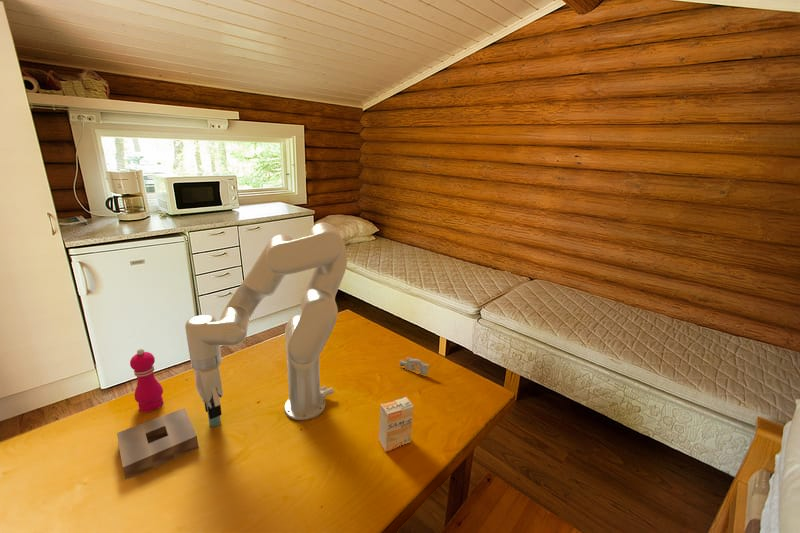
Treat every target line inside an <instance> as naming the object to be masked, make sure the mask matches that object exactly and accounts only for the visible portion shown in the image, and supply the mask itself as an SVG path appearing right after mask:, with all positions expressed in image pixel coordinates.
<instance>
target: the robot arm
mask: <svg viewBox="0 0 800 533" xmlns="http://www.w3.org/2000/svg"><path fill="white" fill-rule="evenodd" d="M347 264H348V253H347V247H346V244H345V240H344V238H343V236H342V235H341V233H340V232H339V231H338V229H337V228H336V227H335V226H334V225H332V224H330V223H328V222H321V221H320V222H317V223H316V224H314V225H313V226H312V227H311V229H310V231H309V233H308V236H304V237H301V238H298V239H294V238H293V237H291V236H290V235H287V234H276V235H275V236H273V237H272V238H271V239H270V240H269V241H267V244H266V245H265V247H264V248H263V250H262V252H261V253H260V255H259V256H258V258H257V259H256V261H255V262H254V264H253V266H252V267H251V269H250V270H249V272H248V274H246V277H245V278H244V279H242V280H243V281H242V282H241V284H240V285H239V287H238V288H237V289H236V290H235V292H234V294H233V295H232V297H231V298H230V299H229V301H228V303H227V305H226V306H225V308H224V309H223V311H222V313H221V316H220V318H219V320H217V319H216V317H215V316H214V315H211V314H210V315H209V314H201V315H195V316H192V317H191V318H189V319H188V320H187V321H186V323H185V328H184V329H185V334H186V340H187V347H188V355H189V360H190V369H191V370H194V378H195V387H196V390H197V393H198V395H199V397H200V399H201V400H202V402H203V403H204V408H205V409H204V410H205V412H206V413H207V414H208V413H209V418H210V419H213V418H215V417H218V416H220V417H221V416H222V414H223V413H222V407H221V401H220V399H222V398H223V395H224V392H223V384H222V376H221V370H220V367H219V366H220V365H221V363H222V352H221V351H222V350H221V346H224V347H225V346H226V347H227V346H228V347H232V346H233V347H234V346H237V345H238V346H239V345H240V344H242V343H243V342H244V341H245V340H246V338H247V336H248V335H247V334H248V329H249V328H248V327H249V321H250V320H251V319H250V318H251V316H252V315H253V313H255V310H256V309H257V308H258V306H259V304H260V303H261V302H263V300H264V299H265V298H266V297H270V296H272V295H274V293H276V291H277V290H278V288H279V286H280V285H281V283H282V281H283V280H284V279H285V277H286V276H287V275H293V274H298V273H302V272H305V271H309V270H311V269H313V271H312V274H311V276H310V279H309V281H308V283H307V285H306V287H305V288H304V291H303V293H302V295H301V298H300V309H301V313H298V314H295V315H293V316H292V317H291V318H290V319H289V320H288V321H287V323H286V325H285V327H284V328H285V329H284V337H285V338H284V339H285V347H286V348H285V350H286V364H287V368H286V369H287V382H288V387H287V388H288V399H287V400H286V401H285V403H284V413H285V415H286V416H287V417H288V418H290V419H291V420H294V421H308V420H312V419H314V418H317V417H318V416H319V415H321V414H322V413H323V412H324V410H325V408H326V400H325V398H327V396H329V395H332V394H334V392H335V390H334V388H333V387H330V388H329V387H328V388H327V386H326V385H324V386H321V374H320V373H321V372H320V364H321V363H320V355H321V353H322V352H323V350H324V348H325V346H326V344H327V342H328V340H329V339H330V336H331V334H332V331H333V330H334V327H335V325H336V323H337V318H338V315H339V311H338V310H339V309H338V305H337V302H336V295H337V293H338V290H339V288H340V286H341V283H342V280H343V278H344V276H345V273H346V270H347ZM211 400H213V402H212V403H211ZM206 403H208V405H209V407H208V412H207V405H206Z"/></svg>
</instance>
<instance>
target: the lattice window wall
mask: <svg viewBox="0 0 800 533" xmlns="http://www.w3.org/2000/svg"><path fill="white" fill-rule="evenodd" d="M405 359H406V360H404V359H400V360H399V361H398V362H399V368H400V367H401V366H405V368H406V369H409V370H412V371H414V370H415V371H417V372H420V373H419V374H423V375H427V374H428V375H429V367H430V364H427V363H425V362H423V360H422V359H421V360H420V359H419V358H411V357H409V356H407V357H406V358H405ZM406 369H405V370H406Z"/></svg>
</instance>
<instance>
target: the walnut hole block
mask: <svg viewBox="0 0 800 533" xmlns="http://www.w3.org/2000/svg"><path fill="white" fill-rule="evenodd" d="M116 436H117V442H118V448H119V449H118V450H119V454H120V460H121V461H120V462H121V466H122V470H123V475H124V478H125V481H127V480H129V479H131V478H134V477H137V476H138V475H140V474H143V473H145V472H147V471H150V470H152V469H155V468H156V467H158V466H162V465H163V464H165V463H168V462H169V461H172V460H174V459H177V458H179V457H182V456H183V455H185V454H188V453H190V452H192V451H195V450H196V449H199V448H200V447H199V441H198V435H197V433H196V430H195V428H194V426H193V423H192V421H191V419H190V416H189V414H188V412H187V410H186V408H185V407H183V408H180V409H177V410H174V411H171V412H169V413H166V414H164V415H161V416H159V417H156V418H153V419H151V420H148V421H145V422H143V423H140V424H137V425H135V426H132V427H129V428H127V429H125V430H122V431H118V432H116Z"/></svg>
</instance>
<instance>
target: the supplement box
mask: <svg viewBox="0 0 800 533" xmlns="http://www.w3.org/2000/svg"><path fill="white" fill-rule="evenodd" d="M379 408H380V410H379V425H378V426H379V427H378V428H379V429H378V431H379V432H378V442H379V444H380V445H381V447H382V449H383V451H384V453H387V451H388V452H390V451H392V449H393V450H395V449H398V448H400V447H402V446H401V445H403V446H405V445H404V444H407V443H410V442H411V439H412V427H413V416H414V415H413V414H414V404H412V402H411V400H410V399H408V397H407V396H405V397H401V398H397V399H393V400H390V401H386V402H383V403H380V407H379ZM410 444H411V443H410ZM407 445H408V444H407ZM399 446H400V447H399ZM397 447H398V448H397ZM394 448H395V449H394Z"/></svg>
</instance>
